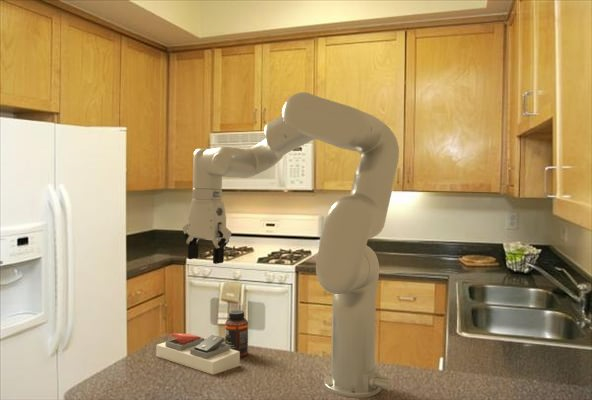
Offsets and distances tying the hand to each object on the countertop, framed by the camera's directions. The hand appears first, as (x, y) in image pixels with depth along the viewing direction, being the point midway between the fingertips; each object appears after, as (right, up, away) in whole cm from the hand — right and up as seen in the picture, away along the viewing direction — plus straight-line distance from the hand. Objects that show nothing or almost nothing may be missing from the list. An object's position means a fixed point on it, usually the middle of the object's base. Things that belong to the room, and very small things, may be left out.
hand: (205, 260), depth 121 cm
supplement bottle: (+8, -25, 0) cm, 26 cm away
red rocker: (-4, -19, -4) cm, 20 cm away
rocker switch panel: (-1, -25, -7) cm, 26 cm away
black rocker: (+3, -20, -10) cm, 22 cm away
